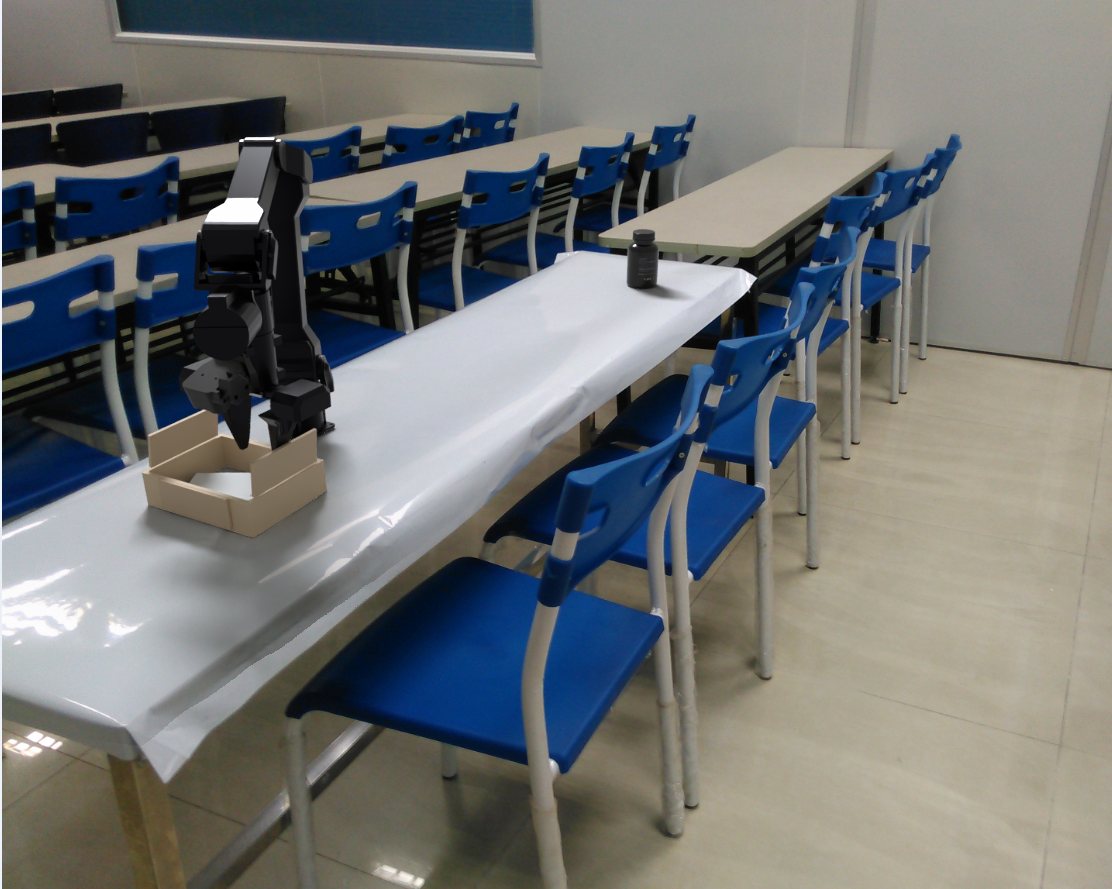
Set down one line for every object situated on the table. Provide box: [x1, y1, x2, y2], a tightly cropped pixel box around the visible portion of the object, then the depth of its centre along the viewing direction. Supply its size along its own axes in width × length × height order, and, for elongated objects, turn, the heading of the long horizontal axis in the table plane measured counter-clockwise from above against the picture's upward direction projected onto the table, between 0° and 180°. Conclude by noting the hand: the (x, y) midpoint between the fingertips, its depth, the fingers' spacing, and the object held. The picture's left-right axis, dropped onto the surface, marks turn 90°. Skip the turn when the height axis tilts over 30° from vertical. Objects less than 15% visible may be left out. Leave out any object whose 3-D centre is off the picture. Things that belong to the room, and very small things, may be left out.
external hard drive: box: [190, 472, 254, 501], centre depth 120 cm, size 2×8×12 cm
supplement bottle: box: [626, 228, 660, 290], centre depth 210 cm, size 7×7×12 cm
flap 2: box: [250, 428, 318, 498], centre depth 114 cm, size 4×11×1 cm
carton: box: [141, 433, 328, 539], centre depth 120 cm, size 14×17×4 cm
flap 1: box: [147, 409, 219, 468], centre depth 121 cm, size 4×11×1 cm
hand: (261, 453), depth 115 cm, fingers open, 5 cm apart
